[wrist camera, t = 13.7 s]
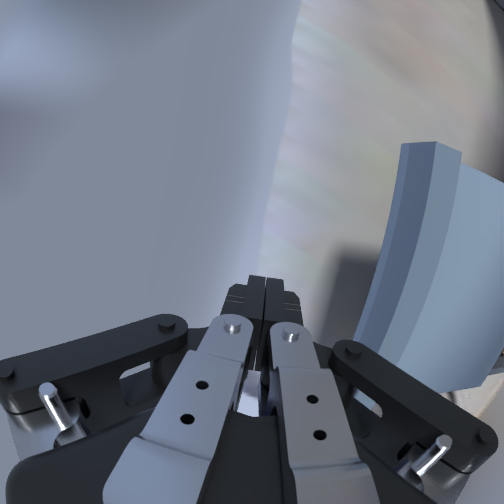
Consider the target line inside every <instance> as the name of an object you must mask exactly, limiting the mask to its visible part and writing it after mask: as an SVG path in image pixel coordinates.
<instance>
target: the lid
mask: <svg viewBox="0 0 504 504" xmlns="http://www.w3.org/2000/svg"><path fill="white" fill-rule="evenodd" d="M461 155H462V152H460V151H457V150H455V149H453V148H451V147H448V146H446V145H443V144H441V143H438V142H419V143H405V144H401V152H400V159H399V166H398V172H397V178H396V184H395V189H394V195H393V200H392V205H391V210H390V215H389V219H388V224H387V228H386V232H385V236H384V240H383V244H382V248H381V252H380V256H379V260H378V263H377V267H376V270H375V274H374V277H373V281H372V284H371V287H370V290H369V294H368V297H367V300H366V303H365V306H364V309H363V312H362V315H361V318H360V321H359V323H358V326H357V329H356V332H355V334H354V337H353V341H357V342H360V343H362V344H363V345H365V346H367V347H368V348H370V349H371V350H373V351H374V352H376V353H377V354H379V355H380V356H382V357H383V358H385V359H386V360H388V361H389V362H391V363H392V364H394V365H395V366H397V367H398V368H400V369H401V370H403V371H404V372H406V373H407V374H409V375H411V376H412V377H414V378H415V379H417V380H418V381H420V382H421V383H423V384H424V385H426V386H427V387H429V388H431V389H432V390H434V391H435V392H437V393H442V392H450V391H456V390H462V389H468V388H474V387H479V386H481V385H482V383H483V382H484V380H485V379H486V377H487V376H488V374H489V372H490V371H491V369H492V367H493V366H494V364H495V362H496V361H497V359H498V357H499V356H500V354H501V352H502V350H503V348H504V183H503V182H501V181H499V180H497V179H495V178H493V177H491V176H489V175H487V174H485V173H483V172H481V171H479V170H477V169H474V168H472V167H470V166H468V165H466V164H463V163H461ZM354 398H355V399H357V400H358V401H359V402H361V403H362V404H363V405H364V406H366V407H367V408H368V409H370V410H371V409H372V408H373V406H374V405H375V403H376V402H375V401H373V400H372V399H371V398H369V397H368V396H367V395H365V394H364V393H363V392H361V391H360V390H359V389H357V391H356V393H355V395H354Z"/></svg>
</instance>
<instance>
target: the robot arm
mask: <svg viewBox="0 0 504 504" xmlns="http://www.w3.org/2000/svg"><path fill="white" fill-rule="evenodd" d="M495 1H496V2H497V3H498V4H499V5H500V6H501V7H502V8H503V9H504V0H495ZM265 279H266V277H261V276H253V275H249V279H248V284H247V285H242V284H235V285H233V286H232V287H230V288H229V291H228V294H227V296H226V299H225V302H224V305H223V308H222V311H221V314H220V315H219V316H217V317H215V318H214V319H213V321H212V322H211V324H210V326H209V327H206V328H191V329H190V328H189V329H188V325H187V323H186V321H185V320H184V319H183V318H181V317H179V316H176V315H172V314H160V315H156V316H153V317H149V318H146V319H143V320H140V321H137V322H133V323H130V324H127V325H124V326H120V327H117V328H114V329H111V330H107V331H104V332H101V333H98V334H94V335H91V336H87V337H84V338H80V339H77V340H73V341H70V342H67V343H63V344H60V345H56V346H52V347H49V348H45V349H42V350H38V351H34V352H30V353H27V354H23V355H19V356H16V357H11V358H8V359H4V360H1V361H0V404H1V406H2V408H3V409H4V411H5V412H6V414H7V417H8V421H9V425H10V429H11V433H12V436H13V440H14V443H15V446H16V449H17V453H18V455H19V458H20V462H19V463H18V464H17V465H16V466H15V467H14V468H13V469H12V471H11V472H10V474H9V476H8V479H7V483H6V504H455V502H456V500H457V499H458V497H459V495H460V493H461V492H462V490H463V488H464V486H465V484H466V483H467V481H468V479H469V477H470V475H471V474H472V473H473V472H474V471H475V470H477V469H478V468H479V467H480V466H481V465H482V464H483V463H484V462H485V461H486V460H488V459H489V458H490V457H491V456H492V455H493V454H494V453H495V452H496V450H497V448H498V437H497V435H496V433H495V431H494V430H493V429H492V428H491V427H490V426H489V425H487V424H485V423H484V422H482V421H481V420H479V419H477V418H476V417H474V416H473V415H471V414H470V413H468V412H466V411H465V410H463V409H462V408H460V407H459V406H457V405H455V404H454V403H452V402H451V401H449V400H448V399H446V398H444V397H443V396H441V395H440V394H438V393H437V392H435V391H434V390H432V389H431V388H429V387H427V386H426V385H424V384H423V383H421V382H420V381H418V380H417V379H415V378H414V377H412V376H411V375H409V374H407V373H406V372H404V371H403V370H401V369H400V368H398V367H397V366H395V365H394V364H392V363H391V362H389V361H388V360H386V359H385V358H383V357H382V356H380V355H379V354H377V353H376V352H374V351H373V350H371V349H370V348H368V347H367V346H365V345H363V344H362V343H360V342H357V341H353V340H341V341H338V342H337V343H336V344H335V345H334V347H333V349H332V348H328V347H325V346H322V345H319V344H317V343H315V342H313V341H312V338H311V334H310V332H309V331H308V330H307V329H306V328H305V327H304V326H303V319H302V313H301V306H300V300H299V297H298V296H297V295H296V294H295V293H294V292H290V291H284V282H283V280H282V279H275V278H268V277H267V280H266V285H265ZM256 351H257V354H256ZM255 357H256V363H255V371H261V376H260V381H259V385H258V402H259V417H251V416H248V415H245V414H242V413H239V412H237V409H238V405H239V402H240V398H241V394H242V390H243V386H244V381H245V379H246V378H247V375H248V370H253V367H254V362H255ZM149 361H150V368H148V369H146V370H143V371H140V372H138V373H135V374H133V375H130V376H128V377H125V378H123V379H120V380H119V378H120V376H121V375H122V373H123V372H124V371H126V370H128V369H131V368H134V367H136V366H139V365H141V364H144V363H147V362H149ZM357 389H359V390H360V391H361V392H363V393H364V394H365V395H367V396H368V397H369V398H371V399H372V400H373V401H375V402H376V403H377V404H378V405H379V406H380V407H381V408H382V411H383V415H382V417H379V416H378V415H376V414H375V413H374V412H372V411H371V410H370V409H368V408H367V407H366V406H364V405H363V404H362V403H361V402H359V401H358V400H357V399H355V398H354V395H355V393H356V391H357ZM155 407H156V408H155Z"/></svg>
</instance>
